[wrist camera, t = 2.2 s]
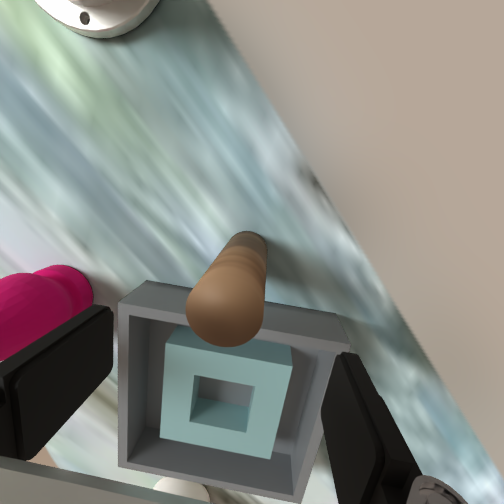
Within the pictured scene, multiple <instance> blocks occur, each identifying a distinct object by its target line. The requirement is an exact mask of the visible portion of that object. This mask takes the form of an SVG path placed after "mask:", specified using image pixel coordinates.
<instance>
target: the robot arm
mask: <svg viewBox="0 0 504 504" xmlns="http://www.w3.org/2000/svg"><path fill="white" fill-rule="evenodd" d="M34 1H35V2H36V3H37V4H38V5H39V7H40V8H42V9H43V10H44V11H45V12H46V13H48V14H49V15H50V16H51V17H52V18H54V19H55V20H56V21H58V22H59V23H61V24H62V25H63V26H65V27H66V28H68V29H70V30H72V31H74V32H76V33H79V34H81V35H84V36H89V37H93V38H112V37H115V36H119V35H122V34H125V33H127V32H129V31H130V30H132V29H134V28H136V27H137V26H138V25H139V24H141V23H142V22H143V21H144V20H145V19H146V18H147V17H148V16H149V15H150V13H151V12H152V11H153V9H154V8H155V6H156V5H157V4H158V2H159V0H34ZM113 320H114V315H113V312H112V311H111V309H110V308H109V307H107V306H102V305H97V304H94V305H92V306H90V307H88V308H87V309H85V310H84V311H82V312H80V313H79V314H77V315H76V316H74V317H72V318H71V319H69V320H68V321H66V322H64V323H63V324H61V325H60V326H58V327H56V328H55V329H53V330H52V331H50V332H48V333H47V334H45V335H44V336H42V337H40V338H39V339H37V340H36V341H34V342H32V343H31V344H29V345H28V346H26V347H24V348H23V349H21V350H20V351H18V352H16V353H15V354H13V355H12V356H10V357H8V358H7V359H5V360H4V361H2V362H0V504H214V503H210V502H206V501H202V500H197V499H193V498H188V497H184V496H180V495H175V494H171V493H167V492H162V491H158V490H153V489H149V488H145V487H140V486H136V485H131V484H127V483H122V482H118V481H114V480H109V479H105V478H100V477H96V476H91V475H87V474H82V473H78V472H73V471H68V470H64V469H59V468H55V467H50V466H46V465H41V464H36V463H32V462H27V461H26V460H30V459H32V458H33V457H34V456H36V455H37V453H38V452H39V451H40V450H41V449H42V448H43V447H44V446H45V445H46V443H47V442H48V441H49V440H50V439H51V438H52V437H53V436H54V435H55V434H56V432H57V431H58V430H59V429H60V428H61V427H62V426H63V425H64V424H65V422H66V421H67V420H68V419H69V418H70V417H71V416H72V415H73V414H74V412H75V411H76V410H77V409H78V408H79V407H80V406H81V405H82V404H83V403H84V401H85V400H86V399H87V398H88V397H89V396H90V395H91V394H92V393H93V391H94V390H95V389H96V388H97V387H98V386H99V385H100V384H101V383H102V381H103V380H104V379H105V378H106V377H107V376H108V375H109V373H110V372H111V370H112V367H113ZM321 420H322V425H323V430H324V435H325V440H326V445H327V450H328V454H329V459H330V464H331V469H332V474H333V479H334V484H335V489H336V493H337V498H338V503H339V504H468V503H467V502H466V501H465V500H464V499H463V497H462V496H461V495H459V494H458V493H457V492H456V491H455V490H454V489H453V488H451V487H450V486H449V485H447V484H445V483H444V482H442V481H441V480H439V479H436V478H434V477H432V476H426V475H423V474H422V472H421V471H420V469H419V467H418V465H417V463H416V461H415V459H414V457H413V455H412V453H411V451H410V450H409V448H408V446H407V444H406V442H405V440H404V438H403V436H402V434H401V432H400V430H399V428H398V427H397V425H396V423H395V421H394V419H393V417H392V415H391V413H390V411H389V409H388V407H387V406H386V404H385V402H384V400H383V399H382V397H381V396H380V395H379V394H378V392H377V391H376V389H375V387H374V385H373V383H372V381H371V379H370V377H369V375H368V373H367V371H366V369H365V367H364V365H363V363H362V361H361V359H360V357H359V356H358V355H357V354H353V353H348V352H342V353H341V354H340V355H338V354H337V355H336V357H335V361H334V364H333V368H332V371H331V375H330V378H329V381H328V385H327V388H326V392H325V395H324V399H323V402H322V406H321Z"/></svg>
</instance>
